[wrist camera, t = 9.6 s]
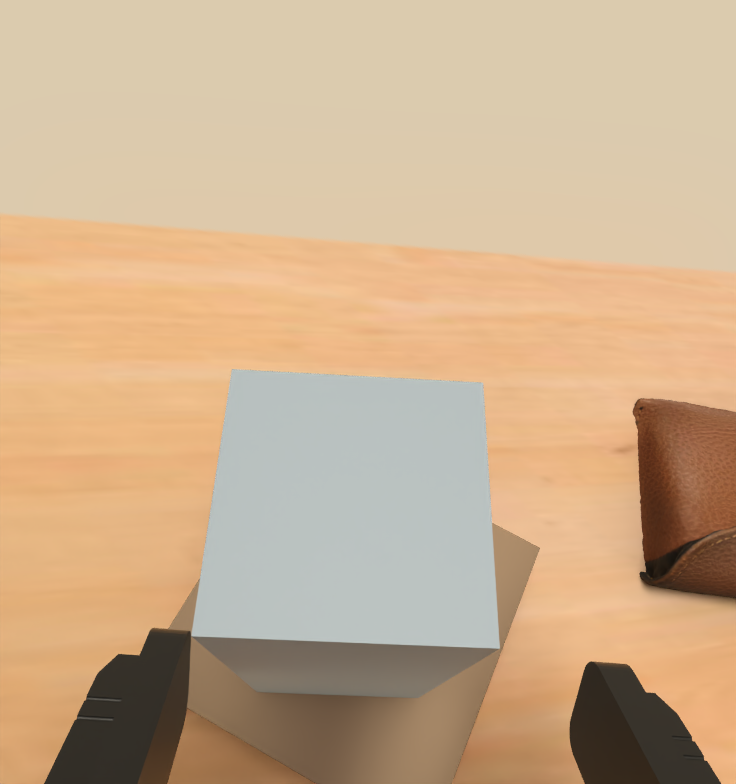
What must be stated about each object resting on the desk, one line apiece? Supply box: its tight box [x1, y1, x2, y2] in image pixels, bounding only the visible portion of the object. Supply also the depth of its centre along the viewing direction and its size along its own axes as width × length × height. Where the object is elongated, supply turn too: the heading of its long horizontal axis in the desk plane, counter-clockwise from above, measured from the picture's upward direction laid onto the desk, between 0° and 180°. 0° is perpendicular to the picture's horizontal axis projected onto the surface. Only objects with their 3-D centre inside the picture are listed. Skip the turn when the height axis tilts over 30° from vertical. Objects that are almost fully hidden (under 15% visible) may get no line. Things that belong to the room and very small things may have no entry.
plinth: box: [168, 523, 540, 784], centre depth 21 cm, size 9×9×4 cm
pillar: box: [191, 369, 500, 698], centre depth 15 cm, size 4×4×10 cm
